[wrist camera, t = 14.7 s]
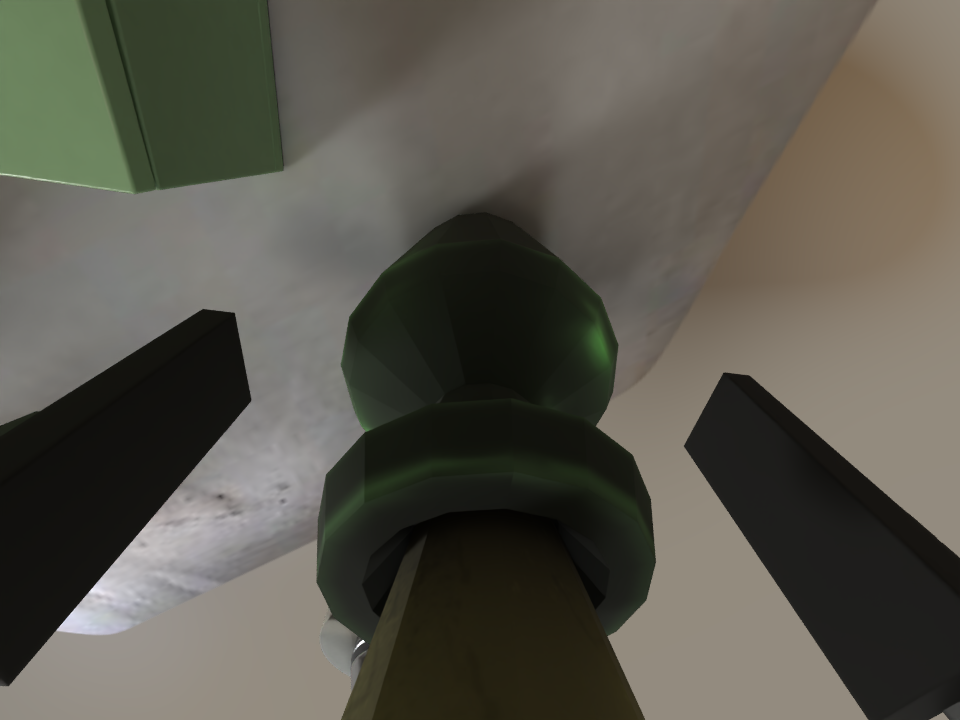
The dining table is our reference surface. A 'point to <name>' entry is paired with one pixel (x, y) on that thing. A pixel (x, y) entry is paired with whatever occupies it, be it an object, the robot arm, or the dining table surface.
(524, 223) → the dining table surface
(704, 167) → the dining table surface
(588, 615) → the potion bottle
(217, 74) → the chest
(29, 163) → the chest lid
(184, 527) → the dining table surface
